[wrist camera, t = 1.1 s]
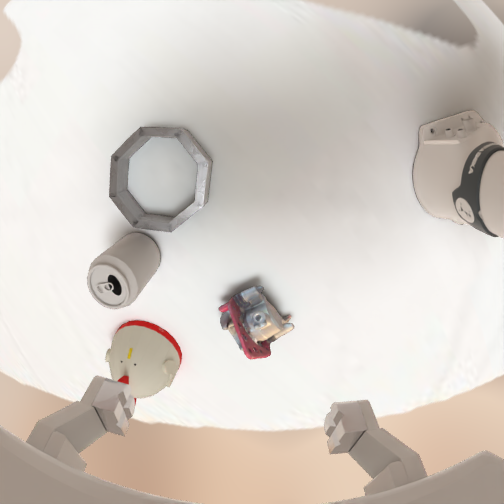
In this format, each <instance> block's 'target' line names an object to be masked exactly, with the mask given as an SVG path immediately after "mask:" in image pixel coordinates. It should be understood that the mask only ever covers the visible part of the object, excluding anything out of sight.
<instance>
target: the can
mask: <svg viewBox="0 0 504 504" xmlns="http://www.w3.org/2000/svg"><path fill="white" fill-rule="evenodd" d="M160 259H161V258H160V252H159V249H158V247H157V245H156V244H155V242H154V241H153V240H152V239H151V238H149V237H148V236H146V235H145V234H141V233H130V234H128V235H126V236H124V237H123V238H122V239H120V240H119V241H118V242H116V243H115V244H114V245H112V246H111V247H110V248H108V249H107V250H106V251H105V252H103V253H102V254H101V255H99V256H98V257H97V258H96V259H95V260H94V261H93V262H92V263H91V266H90V269H89V273H88V276H87V284H88V288H89V291H90V293H91V294H92V296H93V297H94V299H95V300H96V301H97V302H98V303H100V304H101V305H103V306H104V307H107V308H109V309H119V308H123V307H126V306H129V305H130V304H131V303H133V302H134V301H135V299H136V298H137V297H138V295H139V294H140V292H141V291H142V290H143V288H144V287H145V286H146V284H147V283H148V282H149V280H150V279H151V278H152V276H153V275H154V274H155V272H156V271H157V269H158V267H159V265H160Z"/></svg>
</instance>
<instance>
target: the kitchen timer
mask: <svg viewBox="0 0 504 504" xmlns="http://www.w3.org/2000/svg"><path fill="white" fill-rule="evenodd" d="M181 359H182V353H181V350H180V347H179V345H178V343H177V342H176V340H175V339H174V338H173V337H172V336H171V335H170V334H169V333H168V332H167V331H165V330H164V329H162V328H161V327H159V326H157V325H155V324H152V323H149V322H145V321H139V320H137V321H129V322H127V323H125V324H123V325H122V326H121V327H120V328H119V329H118V331H117V332H116V334H115V336H114V338H113V341H112V345H111V349H108V351H107V353H106V359H105V360H106V362H109V366H110V371H111V376H112V378H113V380H114V381H118V382H121V383H125V384H129V385H130V387H131V389H132V390H131V393H130V394H131V395H132V396H133V397H134V400H135V404H136V398H146V397H150V396H152V395H155V394H156V393H158V392H159V391H161V390H162V389H164V388H165V387H166V386H167V387H170V385H171V383H172V381H173V379H174V377H175V375H176V373H177V371H178V369H179V367H180V364H181Z"/></svg>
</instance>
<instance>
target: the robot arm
mask: <svg viewBox="0 0 504 504" xmlns="http://www.w3.org/2000/svg"><path fill="white" fill-rule="evenodd" d="M431 129H432V133H431ZM413 182H414V188H415V192H416V195H417V198H418V200H419V202H420V204H421V205H422V207H423V208H424V209H425V211H426V212H427V213H429V214H430V215H432V216H433V217H436V218H440V219H449V220H452V221H453V222H455V223H457V224H460V225H463V224H467V225H471V226H473V227H474V228H476V229H478V230H480V231H482V232H484V233H485V234H487V235H491V236H493V237H501V238H503V239H504V144H503V142H502V139H501V137H500V135H499V134H498V132H497V130H496V129H495V128H494V127H493V126H492V125H491V124H488V123H485V122H484V120H483V119H482V117H481V116H480V115H479V114H478V113H477V112H476V111H474V110H469V111H466V112H462V113H459V114H456V115H453V116H450V117H446V118H443V119H440V120H437V121H434V122H431V123H428V124H425V125H423V126H421V127H420V130H419V149H418V152H417V155H416V158H415V162H414V168H413ZM131 390H132V389H131V387H130V385H129V384H125V383H121V382H118V381H114V380H111V379H108V378H104V377H101V376H95V377H94V378H93V380H92V382H91V383H90V385H89V387H88V389H87V390H86V392H85V394H84V396H83V397H82V399H81V401H80V402H79V401H76V402H74V403H72V404H71V405H69V406H67V407H65V408H63V409H61V410H59V411H57V412H55V413H53V414H51V415H49V416H47V417H45V418H43V419H41V420H39V421H38V422H37V423H36V425H35V427H34V429H33V430H32V432H31V434H30V436H29V438H28V439H27V441H26V442H25V441H23V440H22V439H20V438H18V437H17V436H15V435H14V434H12V433H11V432H9V431H8V430H6V429H5V428H4V427H2V426H1V425H0V504H202V503H194V502H188V501H182V500H176V499H171V498H166V497H161V496H157V495H153V494H149V493H145V492H141V491H137V490H134V489H131V488H127V487H124V486H121V485H118V484H114V483H112V482H109V481H106V480H103V479H101V478H98V477H95V476H93V475H90V474H88V473H85V472H84V471H85V468H86V465H87V464H86V462H85V460H84V459H83V458H82V457H81V456H80V455H79V453H80V452H81V451H83V450H84V449H86V448H87V447H88V446H90V445H91V444H92V443H94V442H95V441H96V440H98V439H99V438H100V437H102V436H103V435H104V434H105V433H107V432H111V433H115V434H118V435H122V436H125V435H126V432H127V429H128V427H129V423H128V419H129V418H131V417H132V416H133V413H134V409H135V400H134V397H133V396H132V395H131V394H130V393H131ZM330 408H331V412H329V413H328V414H327V415H326V418H325V422H324V429H325V433H326V435H328V436H329V437H330V438H329V440H328V441H327V443H328V447H329V453H330V454H338V453H348V452H349V455H350V456H351V457H352V458H353V459H354V460H355V461H356V462H357V463H358V464H359V465H360V466H361V467H362V468H363V469H364V470H365V471H366V472H367V473H368V474H369V475H370V476H371V477H372V478H373V480H371V481H370V482H369V483H368V484H367V485H366V486H365V487H364V491H365V496H362V497H358V498H353V499H348V500H342V501H336V502H330V503H323V504H504V459H502V458H500V457H499V456H497V455H495V454H493V453H491V452H489V451H481V452H479V453H477V454H475V455H473V456H471V457H470V458H468V459H466V460H464V461H462V462H460V463H458V464H456V465H454V466H452V467H449V468H447V469H445V470H442V471H440V472H438V473H435V474H433V475H430V476H427V474H426V471H425V468H424V466H423V463H422V461H421V458H420V456H419V454H417V453H416V452H415V451H413V450H412V449H411V448H409V447H408V446H406V445H405V444H404V443H402V442H401V441H399V440H398V439H397V438H395V437H394V436H393V435H391V434H390V433H389V432H387V431H386V430H385V429H383V428H379V425H378V423H377V420H376V417H375V415H374V412H373V410H372V407H371V405H370V402H369V401H368V400H360V401H346V402H334V403H333V404H332V405H331V407H330Z"/></svg>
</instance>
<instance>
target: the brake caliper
mask: <svg viewBox="0 0 504 504" xmlns="http://www.w3.org/2000/svg"><path fill="white" fill-rule="evenodd" d="M263 290H264V288H263V287H262V286H256V287H251V288H249V289H247V290H244V291H242V292H240V293H239V294H236V295H234V296H233V297H231V299H230V301H229V302H228V303H226V304H224V305H222V306H220V307H219V311H220V312H224V313H223V314H222V316H221V318H220V323H221V326H222V329H223V330H227V329H228V330H229V332H230V333H231V334H232V336H233V337H234V339H235V340H236V342H237V344H238V345H239V348H240V350H243V351H244V353H245V355H246V356H247V358H249V359H257V358H266V357H268V356H270V355H271V351H270V343H271V342H273V341H275V340H277V339H278V338H279V337H281V336H283V335H285V334H286V333H288V332H289V331H291V330H293V329H294V325H293V324H292V323H288V321H289V320H290V319H291V316H290V315H287V316H286V317H284V318H282V317H281V316H280V315H279V313H278V312H277V311H276V309H275V308H274V307H273V306H272V305H271V304H270V303H269V302H268V301H267V300H266V297H265V296H264V295H263V294H261V292H262V291H263ZM253 348H254V349H253ZM254 350H255V351H254Z"/></svg>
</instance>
